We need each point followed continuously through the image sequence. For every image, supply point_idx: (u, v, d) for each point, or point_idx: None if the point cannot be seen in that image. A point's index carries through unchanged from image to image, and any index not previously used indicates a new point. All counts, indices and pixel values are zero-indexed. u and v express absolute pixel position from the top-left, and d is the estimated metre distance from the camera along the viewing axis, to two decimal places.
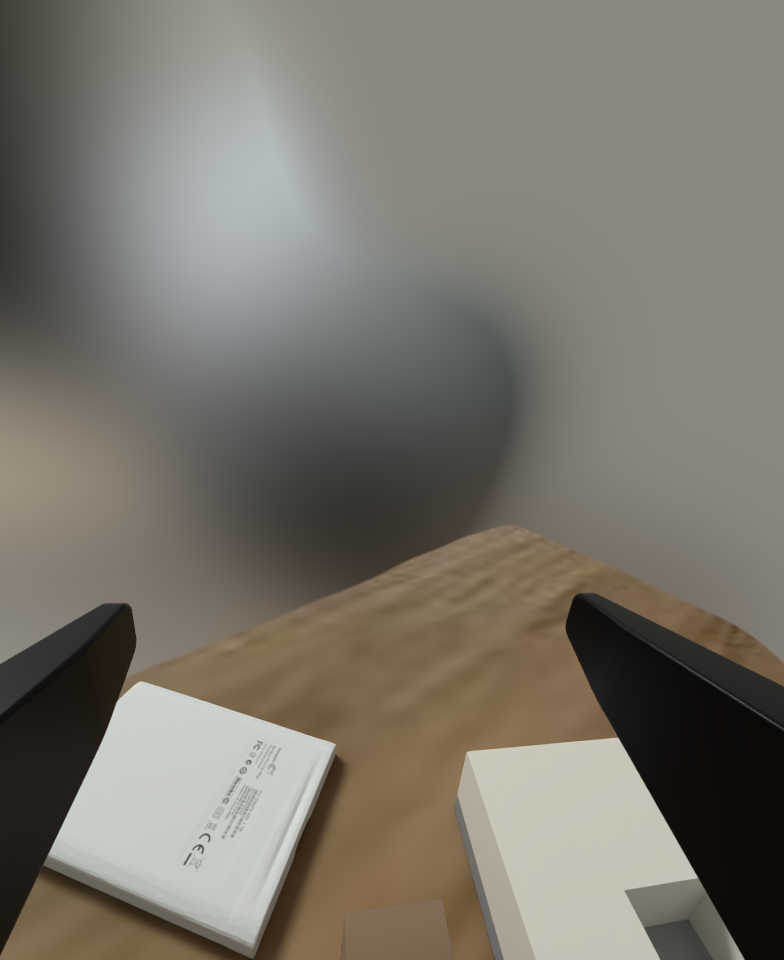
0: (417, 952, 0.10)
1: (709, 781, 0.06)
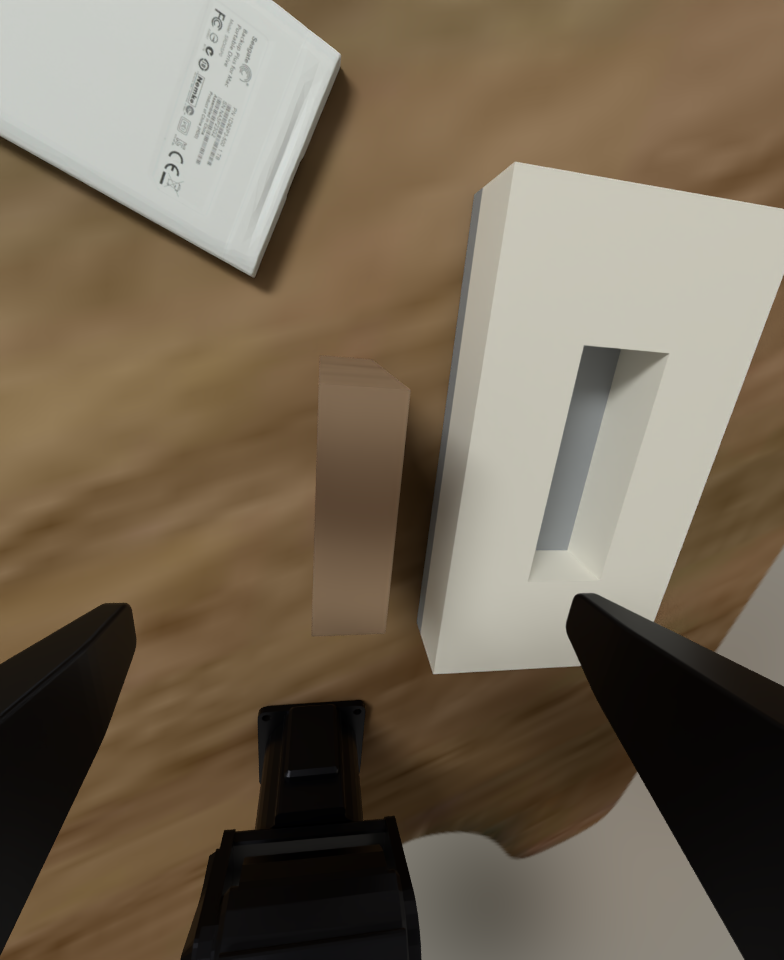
0: (378, 419, 0.11)
1: (709, 781, 0.06)
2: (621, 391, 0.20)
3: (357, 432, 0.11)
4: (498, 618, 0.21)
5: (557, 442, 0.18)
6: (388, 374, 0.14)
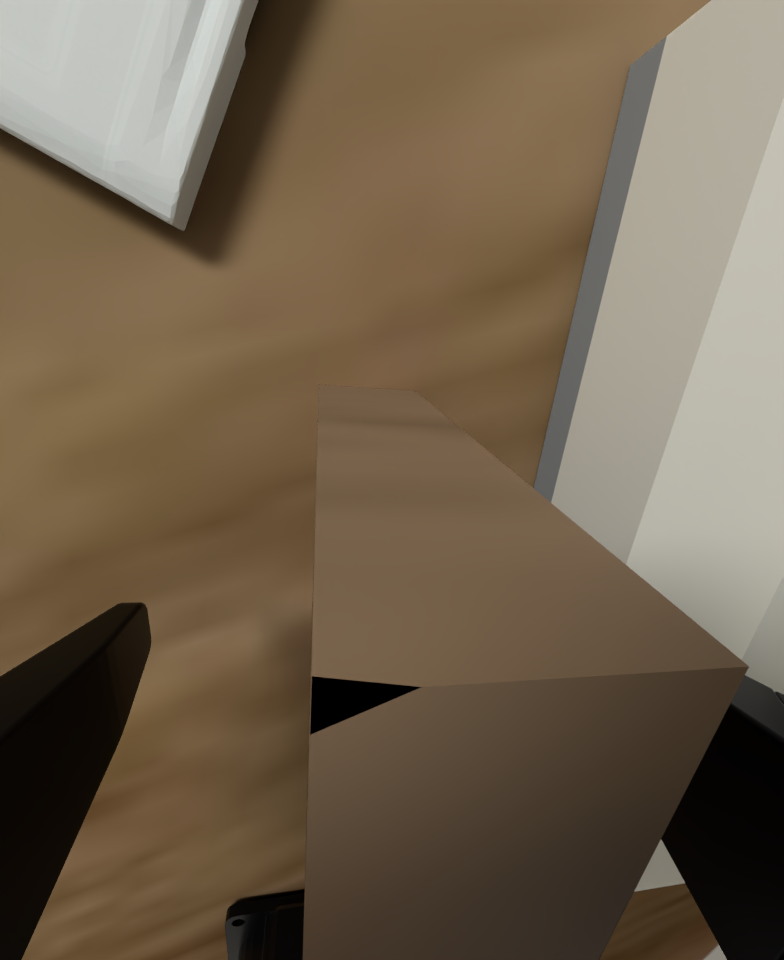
0: (579, 777, 0.03)
1: (695, 783, 0.06)
2: None
3: (486, 832, 0.03)
4: None
5: None
6: (500, 467, 0.05)
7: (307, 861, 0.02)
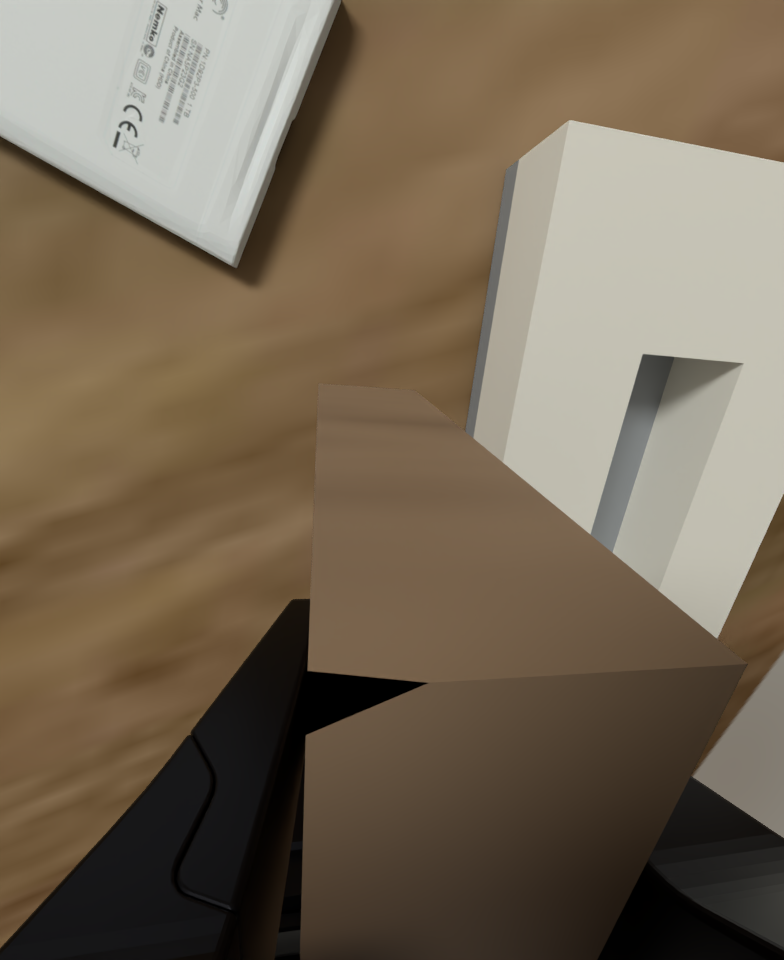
0: (577, 774, 0.03)
1: None
2: (675, 406, 0.17)
3: (485, 832, 0.03)
4: None
5: (605, 470, 0.15)
6: (499, 465, 0.05)
7: (303, 858, 0.02)
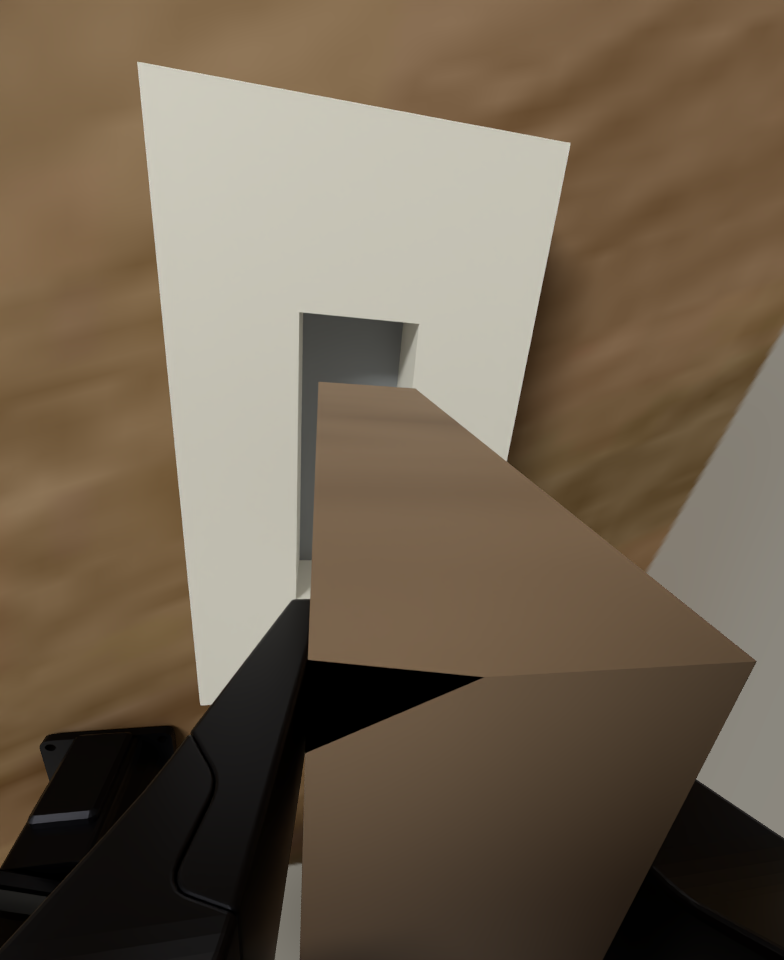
0: (581, 774, 0.02)
1: None
2: (402, 373, 0.17)
3: (486, 832, 0.02)
4: None
5: (293, 434, 0.15)
6: (501, 463, 0.05)
7: (303, 860, 0.02)
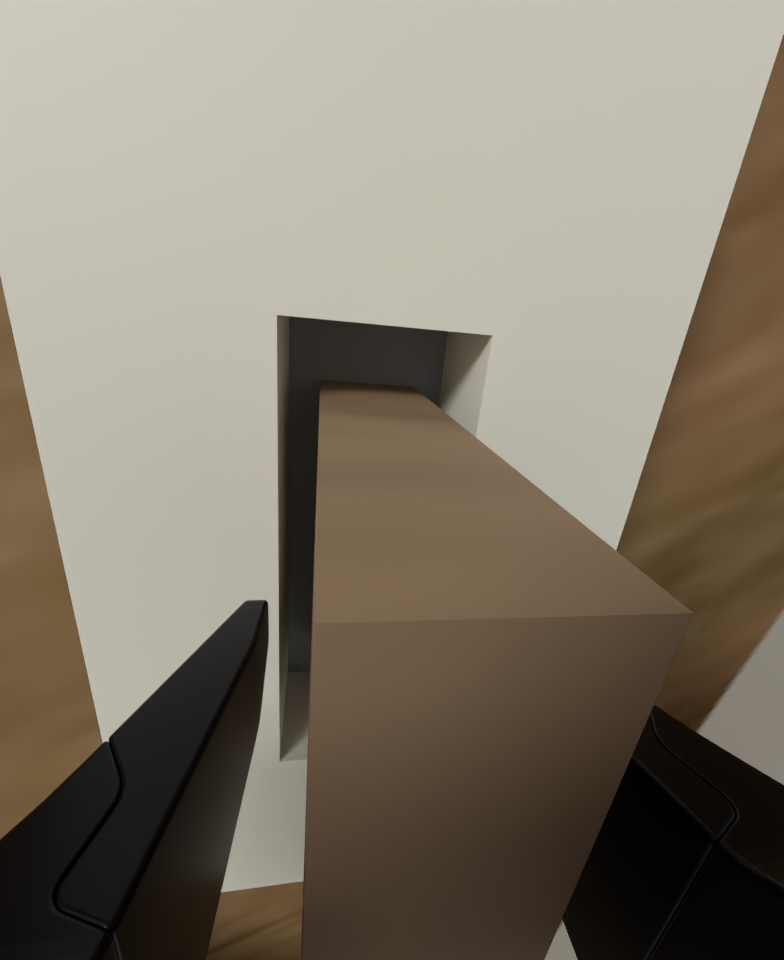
0: (547, 712, 0.03)
1: None
2: (446, 411, 0.10)
3: (465, 761, 0.03)
4: (238, 818, 0.12)
5: (270, 524, 0.09)
6: (490, 454, 0.06)
7: (309, 781, 0.03)
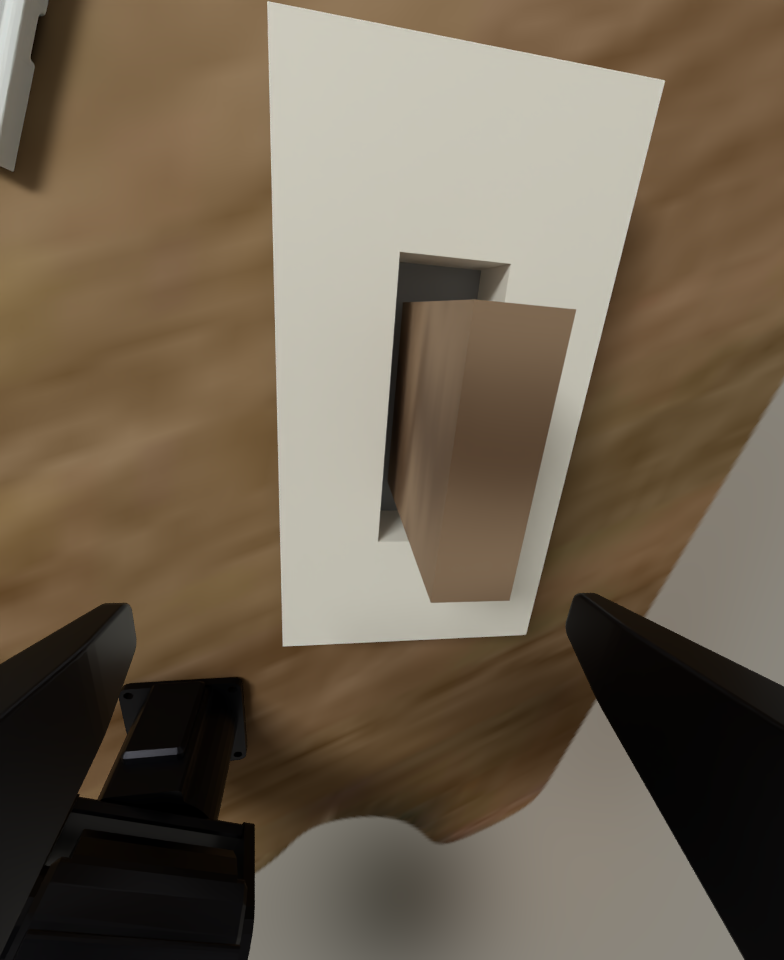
0: (534, 345, 0.10)
1: (709, 781, 0.06)
2: None
3: (510, 360, 0.10)
4: (349, 584, 0.19)
5: (386, 374, 0.15)
6: None
7: (465, 362, 0.10)
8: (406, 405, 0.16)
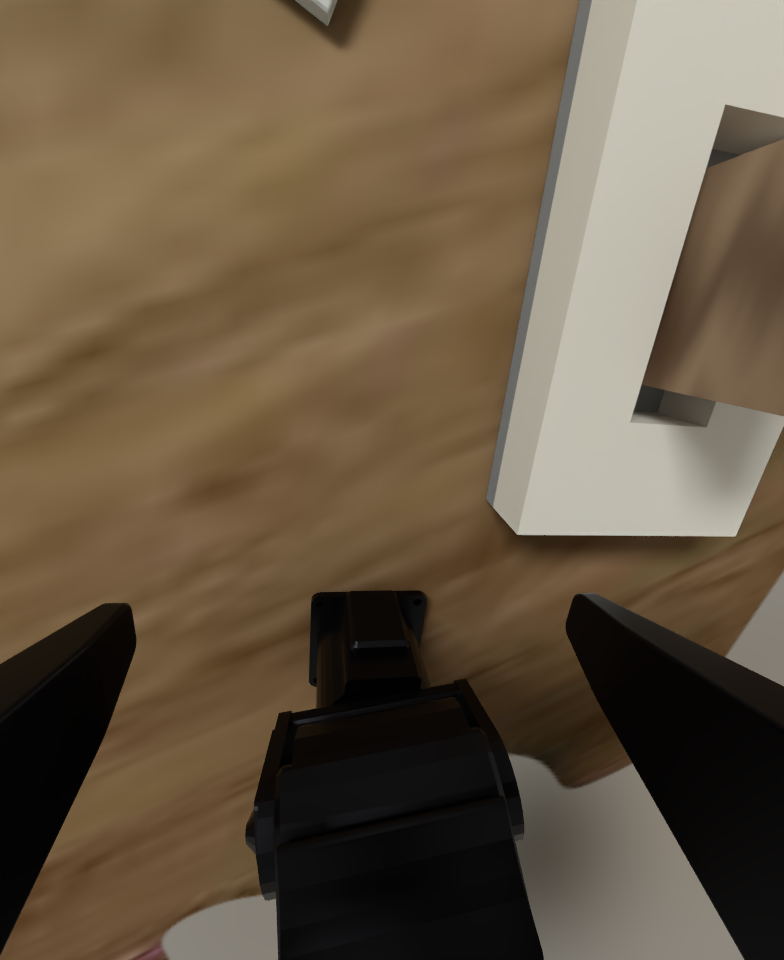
0: None
1: (709, 781, 0.06)
2: None
3: None
4: (593, 468, 0.19)
5: (681, 237, 0.16)
6: None
7: None
8: (687, 274, 0.16)
